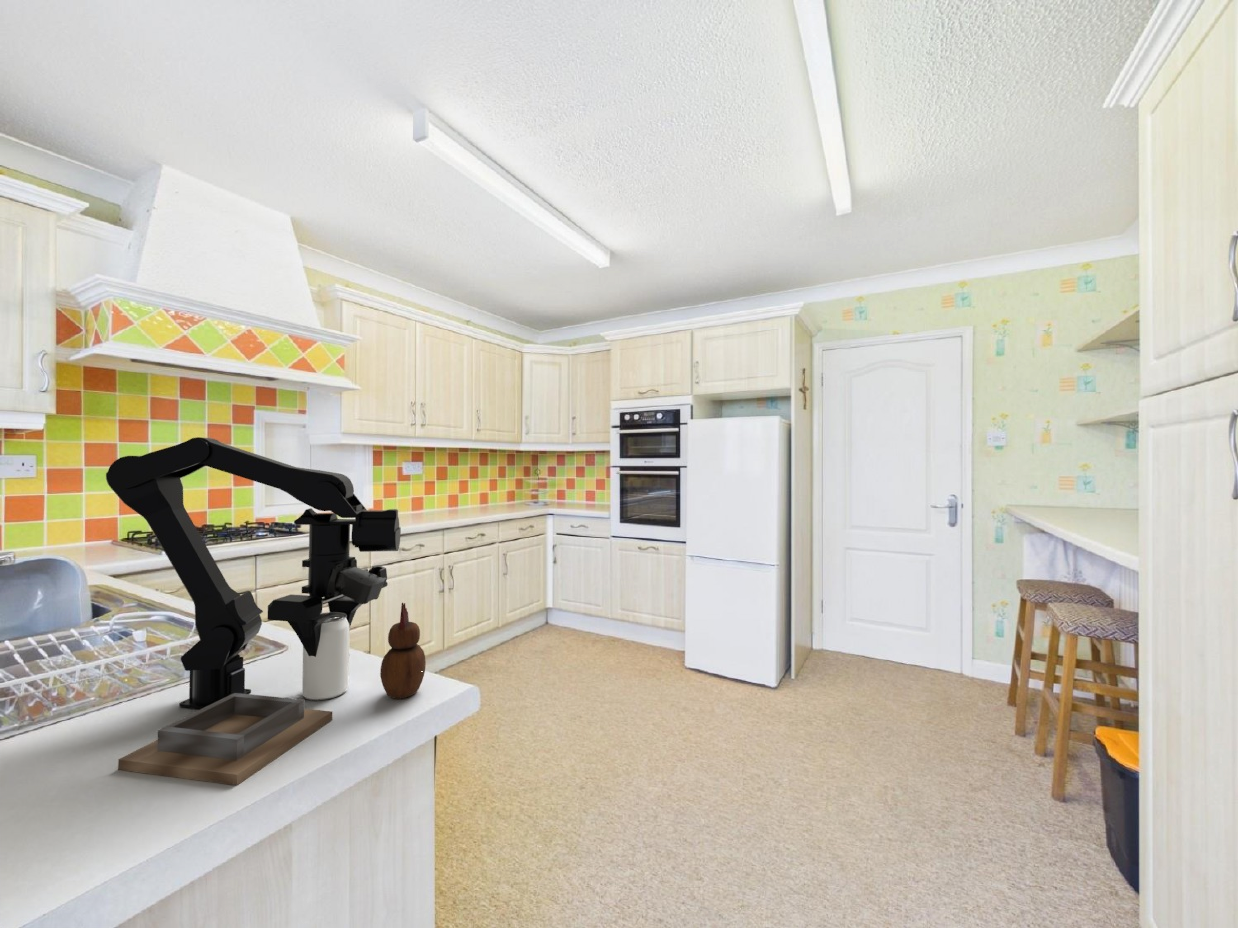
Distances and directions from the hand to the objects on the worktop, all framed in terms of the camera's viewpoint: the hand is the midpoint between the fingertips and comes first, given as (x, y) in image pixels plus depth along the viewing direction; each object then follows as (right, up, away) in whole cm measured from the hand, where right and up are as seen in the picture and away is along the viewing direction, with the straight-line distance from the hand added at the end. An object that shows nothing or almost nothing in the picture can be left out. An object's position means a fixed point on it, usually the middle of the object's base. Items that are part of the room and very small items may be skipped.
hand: (327, 650), depth 87 cm
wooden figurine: (+12, -7, 0) cm, 14 cm away
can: (0, -7, 0) cm, 7 cm away
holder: (-4, -7, -16) cm, 17 cm away
